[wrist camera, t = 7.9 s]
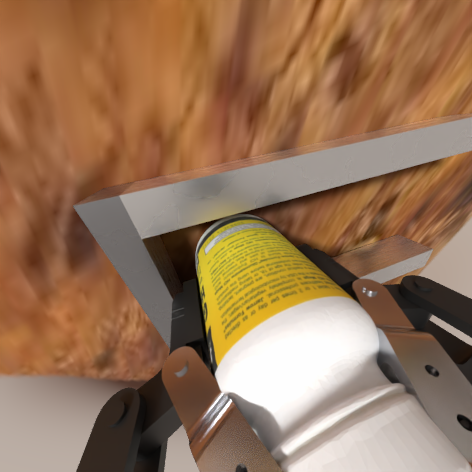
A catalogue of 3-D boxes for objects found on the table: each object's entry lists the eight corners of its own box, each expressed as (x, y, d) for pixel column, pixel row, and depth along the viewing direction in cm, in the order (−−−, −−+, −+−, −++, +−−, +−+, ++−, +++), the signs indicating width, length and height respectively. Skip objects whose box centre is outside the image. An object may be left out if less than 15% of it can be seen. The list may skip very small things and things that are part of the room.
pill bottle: (175, 245, 11) (156, 716, 2) (253, 193, 11) (619, 434, 2) (223, 293, 15) (300, 557, 5) (283, 254, 15) (472, 451, 5)
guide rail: (441, 116, 13) (506, 109, 10) (391, 249, 19) (424, 265, 17) (103, 188, 9) (72, 206, 6) (180, 327, 15) (180, 364, 13)
